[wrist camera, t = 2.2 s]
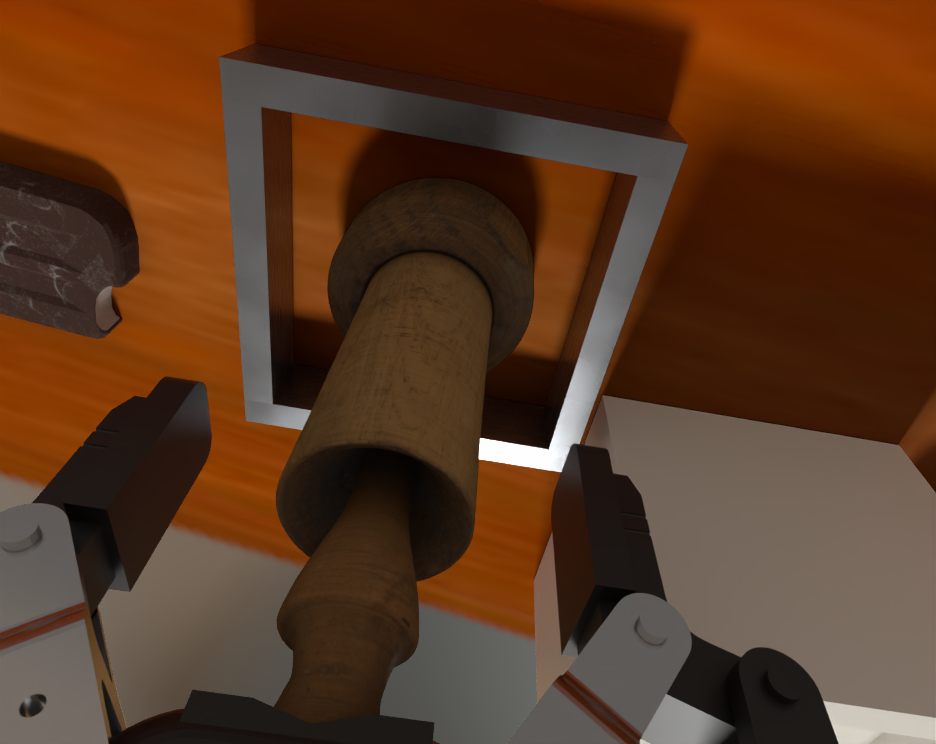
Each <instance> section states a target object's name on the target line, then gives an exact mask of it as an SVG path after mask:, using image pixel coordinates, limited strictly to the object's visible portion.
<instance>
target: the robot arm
mask: <svg viewBox="0 0 936 744" xmlns="http://www.w3.org/2000/svg"><path fill="white" fill-rule="evenodd" d="M211 440H212V435H211V425H210V417H209V408H208V400H207V391H206V387H205V385H204V383H203V382H198V381H192V380H186V379H179V378H173V377H164V378H163V379H161V380H160V382H159V383H158V384H157V385H156V387H155V388H154V389H153V390H152V392H151V393H150V394H149V395H148V397H147V398H144V397H138V396H134V397H132V398H131V399H129V400H127V401H126V402H124V403H122V404H121V405H119V406H117V407H116V408H114V409H112V410H111V411H110V412H109V414H108V415H107V416H106V417H105V418H104V419H103V421H102V422H101V423H100V424H99V425H98V426H97V428H96V431H95V432H92V434H91V435H90V436H89V437H88V438H87V439H86V441H85V442H84V445H83V447H81V446H80V448H79V449H78V450H77V451H76V452H75V453H74V455H73V456H72V457H71V458H70V459H69V461H68V462H67V463H66V464H65V465H64V466H63V468H62V469H61V470H60V471H59V472H58V473H57V475H56V476H55V477H54V478H53V479H52V480H51V482H50V483H49V484H48V485H47V486H46V488H45V489H44V490H43V491H42V492H41V493H40V495H39V496H38V497H37V498H36V499H35V500H34V501H33V502H32V503H31V504H24V505H20V506H16V507H13V508H10V509H7V510H5V511H2V512H0V744H439V743H437V742H435V741H433V732H434V723H433V722H426V721H418V720H411V719H404V718H396V717H389V716H382V715H370V716H363V717H355V718H348V719H341V720H334V721H327V722H319V723H309V722H306V721H303V720H301V719H299V718H296V717H294V716H292V715H290V714H287V713H285V712H283V711H281V710H279V709H276V708H274V707H272V706H270V705H267V704H265V703H263V702H261V701H258V700H256V699H254V698H250V697H242V696H235V695H228V694H220V693H213V692H206V691H197V690H192V692H191V695H190V697H189V699H188V702H187V704H186V706H185V708H184V709H177V710H173V711H169V712H165V713H162V714H159V715H156V716H153V717H151V718H148V719H145V720H143V721H141V722H139V723H137V724H135V725H133V726H131V727H129V728H127V727H126V723H125V720H124V716H123V712H122V709H121V705H120V702H119V698H118V694H117V690H116V685H115V681H114V676H113V671H112V667H111V662H110V657H109V653H108V648H107V643H106V639H105V634H104V629H103V625H102V620H101V615H100V611H99V608H98V605H99V603H100V601H101V600H102V598H103V597H104V595H105V593H106V592H107V590H108V589H114V590H121V591H128V592H130V591H131V589H132V588H133V586H134V584H135V582H136V581H137V579H138V577H139V576H140V574H141V572H142V570H143V569H144V567H145V565H146V564H147V562H148V560H149V559H150V557H151V555H152V553H153V552H154V550H155V548H156V547H157V545H158V543H159V541H160V540H161V538H162V536H163V534H164V533H165V531H166V529H167V528H168V526H169V524H170V523H171V521H172V519H173V518H174V516H175V514H176V512H177V511H178V509H179V507H180V506H181V504H182V502H183V500H184V499H185V497H186V495H187V494H188V492H189V490H190V488H191V487H192V485H193V483H194V482H195V480H196V478H197V476H198V475H199V473H200V471H201V470H202V468H203V466H204V464H205V463H206V460H207V458H208V455H209V452H210V447H211ZM551 520H552V534H553V547H554V561H555V574H556V588H557V601H558V615H559V628H560V641H561V655H562V656H569V657H575V658H576V659H575V661H574V662H573V663H572V665H571V666H570V667H569V669H568V670H567V671H566V672H565V674H564V675H560V676H559V677H558V678H557V679H556V680H555V681H554V682H553V683H552V685H551V686H550V687H549V689H548V690H547V691H546V692H545V694H544V695H543V696H542V698H541V699H540V700H539V702H538V703H537V704H536V706H535V707H534V708H533V710H532V711H531V712H530V713H529V715H528V716H527V717H526V719H525V720H524V721H523V723H522V724H521V725H520V727H519V728H518V729H517V730H516V732H515V733H514V734H513V736H512V737H511V738H510V740H509V741H508V742H507V744H640V739H642V740H644V741H646V742H648V743H650V744H839V743H838V740H837V738H836V735H835V732H834V729H833V727H832V724H831V721H830V718H829V715H828V713H827V710H826V707H825V704H824V702H823V699H822V696H821V694H820V691H819V689H818V687H817V685H816V684H815V682H814V680H813V679H812V678H811V676H810V675H809V674H808V673H807V672H806V670H805V669H804V668H803V667H802V666H801V665H799V664H798V663H797V662H796V661H795V660H793V659H792V658H790V657H789V656H787V655H785V654H784V653H782V652H779V651H777V650H774V649H771V648H765V647H756V648H753V649H750V650H748V651H747V652H746V653H745V654H744V655H743V656H742V657H739V656H737V655H735V654H733V653H731V652H728V651H726V650H724V649H722V648H720V647H717V646H715V645H713V644H711V643H709V642H707V641H705V640H703V639H701V638H699V637H697V636H696V635H694V634H693V633H692V632H690V630H689V628H688V625H687V623H686V622H685V620H684V618H683V617H682V616H681V614H680V613H679V612H678V611H677V610H676V609H675V608H674V607H673V606H671V605H670V604H669V603H668V602H667V599H666V596H665V592H664V588H663V583H662V579H661V575H660V571H659V567H658V563H657V558H656V554H655V550H654V546H653V542H652V538H651V536H650V529H649V525H648V521H647V519H646V513H645V509H644V504H643V500H642V496H641V494H640V493H639V491H638V490H637V488H636V487H635V485H634V484H633V483H632V481H631V480H630V478H629V477H628V476H626V475H620V474H614V473H613V470H612V465H611V460H610V455H609V452H608V450H607V449H606V448H600V447H594V446H587V445H581V444H575V443H574V444H572V446H571V447H570V450H569V452H568V455H567V458H566V461H565V463H564V466H563V469H562V472H561V475H560V477H559V480H558V483H557V486H556V488H555V492H554V496H553V501H552V510H551Z"/></svg>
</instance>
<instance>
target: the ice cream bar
mask: <svg viewBox="0 0 936 744" xmlns="http://www.w3.org/2000/svg"><path fill="white" fill-rule="evenodd" d="M139 271H140V267H139V245H138V237H137V233H136V230H135V227H134V224H133V221H132V219H131V217H130V215H129V214H128V212H127V210H126V209H125V208H124V207H123V206H122V205H121V204H120V203H119V202H117V201H116V200H115V199H114V198H113V197H111V196H109V195H108V194H106V193H104V192H103V191H100V190H97V189H93V188H90V187H86V186H83V185H79V184H76V183H73V182H69V181H66V180H62V179H59V178H55V177H52V176H49V175H45V174H42V173H38V172H35V171H31V170H28V169H25V168H21V167H18V166H14V165H11V164H7V163H4V162H1V161H0V314H4V315H7V316H11V317H15V318H19V319H23V320H26V321H30V322H34V323H38V324H42V325H45V326H49V327H53V328H57V329H61V330H64V331H68V332H72V333H76V334H80V335H83V336H88V337H93V338H104V337H105V336H106V335H108V334H109V333H110V332H111V331H112V330H113V329H114V328H115V327H116V326H117V325H118V324H119V323H120V322H121V321H122V318H120V317H118V316H117V315H116V314H115V312H114V310H113V308H112V299H111V291H112V287H123V286H125V285H126V284H127V283H128V282H129V281H131V280H132V279H133V278H134V277H135V276H136V275H137V274H139Z"/></svg>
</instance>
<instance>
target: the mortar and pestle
mask: <svg viewBox="0 0 936 744" xmlns="http://www.w3.org/2000/svg"><path fill="white" fill-rule="evenodd" d="M328 299H329V304H330V309H331V312H332V315H333V318H334V321H335V323H336V325H337V327H338V329H339V331H340V332H341V334H342V336H343V337H344V340H343V342H342V345H341V347H340V349H339V351H338V353H337V355H336V358H335V360H334V362H333V364H332V366H331V368H330V371H329V373H328V375H327V377H326V379H325V381H324V384H323V386H322V388H321V390H320V392H319V395H318V397H317V399H316V401H315V403H314V406H313V408H312V410H311V412H310V415H309V417H308V419H307V421H306V423H305V425H304V427H303V430H302V432H301V434H300V436H299V438H298V440H297V442H296V445H295V447H294V449H293V451H292V453H291V455H290V457H289V460H288V462H287V464H286V466H285V468H284V470H283V473H282V475H281V477H280V480H279V483H278V486H277V491H276V507H277V512H278V516H279V519H280V522H281V524H282V526H283V528H284V529H285V531H286V533H287V534H288V536H289V537H290V539H291V540H292V541H293V542H294V544H295V545H296V546H297V547H298V548H299V549H300V550H302V551H303V552H304V553H305V554H306V555H307V556H309V557H310V559H309V560H308V562H307V564H306V565H305V566H304V568H303V569H302V571H301V572H300V574H299V575H298V577H297V578H296V580H295V582H294V584H293V585H292V587H291V589H290V591H289V593H288V595H287V597H286V598H285V600H284V602H283V604H282V606H281V608H280V610H279V613H278V616H277V629H278V632H279V634H280V636H281V638H282V640H283V641H284V642H285V644H286V645H287V646H288V647H289V648H290V649H291V650H293V669H292V675H291V678H290V680H289V682H288V683H287V685H286V687H285V688H284V690H283V692H282V694H281V696H280V697H279V699H278V701H277V703H276V704H275V706H274V708H276V709H279V710H281V711H283V712H285V713H287V714H290V715H292V716H294V717H296V718H299V719H301V720H303V721H306V722H309V723H319V722H327V721H334V720H341V719H348V718H355V717H363V716H370V715H380V703H381V699H382V695H383V692H384V689H385V687H386V684H387V681H388V678H389V676H390V674H391V672H392V670H393V668H394V667H396V666H398V665H400V664H402V663H403V662H405V661H407V660H408V659H409V658H410V657H411V656H412V655H413V653H414V652H415V650H416V648H417V644H418V638H419V605H418V593H417V584H416V581H420V580H424V579H427V578H430V577H432V576H435V575H437V574H439V573H441V572H443V571H445V570H446V569H448V568H449V567H451V566H452V565H453V564H454V563H455V562H456V561H458V560H459V559H460V558H461V556H462V555H463V554H464V553H465V551H466V550H467V548H468V546H469V544H470V542H471V539H472V536H473V531H474V523H475V511H476V496H477V480H478V464H479V450H480V437H481V425H482V412H483V400H484V390H485V379H486V372H488V371H490V370H492V369H493V368H494V367H496V366H497V365H499V364H500V363H501V362H502V361H504V360H505V359H506V358H507V357H508V356H509V355H510V354H511V352H512V351H513V350H514V349H515V348H516V346H517V345H518V344H519V342H520V341H521V339H522V337H523V335H524V333H525V331H526V329H527V327H528V324H529V321H530V318H531V313H532V308H533V299H534V264H533V256H532V251H531V247H530V244H529V241H528V238H527V235H526V233H525V231H524V229H523V227H522V225H521V224H520V222H519V221H518V219H517V218H516V216H515V215H514V214H513V213H512V212H511V210H510V209H509V208H508V207H507V206H506V205H505V204H503V203H502V202H501V201H500V200H499V199H498V198H496V197H495V196H493V195H492V194H490V193H489V192H487V191H486V190H484V189H482V188H480V187H478V186H476V185H473V184H471V183H468V182H464V181H460V180H456V179H449V178H423V179H416V180H412V181H408V182H405V183H402V184H399V185H396V186H394V187H392V188H390V189H388V190H386V191H384V192H382V193H381V194H379V195H378V196H376V197H375V198H374V199H372V200H371V201H370V202H369V203H368V204H366V205H365V206H364V208H363V209H362V210H361V211H360V212H359V213H358V214H357V216H356V217H355V218H354V220H353V221H352V223H351V225H350V226H349V228H348V230H347V231H346V233H345V235H344V237H343V238H342V240H341V242H340V244H339V245H338V247H337V249H336V251H335V254H334V256H333V259H332V262H331V266H330V270H329V276H328Z"/></svg>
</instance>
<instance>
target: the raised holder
mask: <svg viewBox="0 0 936 744" xmlns="http://www.w3.org/2000/svg"><path fill="white" fill-rule="evenodd" d="M584 445H587V446H594V447H600V448H606V449H607V450H608V452H609V455H610V460H611V465H612V470H613V473H614V474H620V475H626V476H628V477H629V478H630V480H631V481H632V483H633V484H634V485H635V487H636V488H637V490H638V491H639V493H640V494H641V496H642V500H643V504H644V509H645V513H646V519H647V521H648V525H649V529H650V536H651V538H652V542H653V546H654V550H655V554H656V558H657V563H658V567H659V571H660V575H661V579H662V583H663V588H664V592H665V596H666V599H667V602H668V603H669V604H670V605H671V606H673V607H674V608H675V609H676V610H677V611H678V612H679V613H680V614H681V616H682V617H683V618H684V620H685V622H686V623H687V625H688V628H689V630H690V632H692V633H693V634H694V635H696V636H697V637H699V638H701V639H703V640H705V641H707V642H709V643H711V644H713V645H715V646H717V647H720V648H722V649H724V650H726V651H728V652H731V653H733V654H735V655H737V656H739V657H742V656H743V655H744V654H745V653H746V652H747V651H748V650H750V649H753V648H756V647H765V648H771V649H774V650H777V651H779V652H782V653H784V654H785V655H787V656H789V657H790V658H792V659H793V660H795V661H796V662H797V663H798V664H799V665H801V666H802V667H803V668H804V669H805V670H806V672H807V673H808V674H809V675H810V676H811V678H812V679H813V680H814V682H815V684H816V685H817V687H818V689H819V691H820V694H821V696H822V699H823V702H824V704H825V707H826V710H827V713H828V715H829V718H830V721H831V724H832V727H833V729H834V732H835V735H836V738H837V740H838V743H839V744H936V492H935V491H934V490H933V489H932V487H931V486H930V485H929V483H928V482H927V481H926V479H925V478H924V477H923V476H922V474H921V473H920V472H919V470H918V469H917V468H916V467H915V465H914V464H913V463H912V461H911V460H910V459H909V457H908V456H907V455H906V454H905V452H904V451H903V450H902V448H901V447H900V446H899V445H895V444H889V443H883V442H877V441H871V440H865V439H860V438H854V437H848V436H842V435H836V434H830V433H824V432H818V431H812V430H806V429H800V428H794V427H788V426H783V425H777V424H771V423H765V422H759V421H753V420H747V419H741V418H735V417H729V416H723V415H717V414H711V413H705V412H700V411H694V410H688V409H682V408H676V407H670V406H664V405H658V404H652V403H646V402H640V401H634V400H628V399H623V398H617V397H611V396H605V395H602V398H601V401H600V403H599V406H598V409H597V411H596V414H595V417H594V420H593V422H592V425H591V428H590V430H589V433H588V436H587V438H586V441H585V444H584ZM534 604H535V639H536V671H537V673H536V674H537V703H538V702H539V700H540V699H541V698H542V696H543V695H544V694H545V692H546V691H547V690H548V689H549V687H550V686H551V685H552V683H553V682H554V681H555V680H556V679H557V678H558V677H559V676H560V675H564V674H565V672H566V671H567V670H568V669H569V667H570V666H571V665H572V663H573V662H574V661H575V659H576V658H575V657H569V656H562V655H561V641H560V628H559V615H558V601H557V588H556V574H555V561H554V547H553V534H552V533H551V536H550V538H549V541H548V544H547V546H546V549H545V552H544V555H543V557H542V560H541V563H540V565H539V568H538V571H537V574H536V576H535V579H534ZM640 744H650V743H648V742H646V741H644V740H642V739H640Z"/></svg>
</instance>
